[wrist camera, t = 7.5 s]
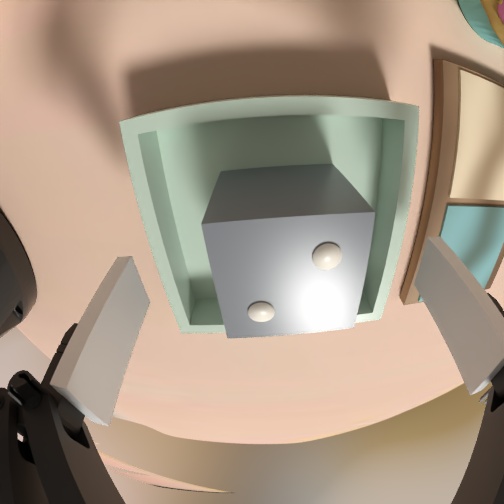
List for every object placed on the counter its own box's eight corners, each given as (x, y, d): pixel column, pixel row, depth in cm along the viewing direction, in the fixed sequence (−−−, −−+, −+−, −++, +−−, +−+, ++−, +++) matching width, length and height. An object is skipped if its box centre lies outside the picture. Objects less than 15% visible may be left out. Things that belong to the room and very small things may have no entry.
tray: (189, 301, 20) (181, 333, 18) (143, 113, 13) (119, 121, 10) (367, 289, 20) (380, 319, 17) (390, 100, 12) (419, 106, 9)
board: (399, 296, 20) (404, 306, 19) (433, 59, 10) (444, 59, 9) (484, 281, 19) (490, 289, 18) (526, 99, 9) (536, 102, 8)
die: (234, 263, 17) (227, 339, 12) (220, 171, 14) (200, 225, 9) (328, 256, 17) (354, 329, 12) (332, 163, 14) (376, 213, 9)
